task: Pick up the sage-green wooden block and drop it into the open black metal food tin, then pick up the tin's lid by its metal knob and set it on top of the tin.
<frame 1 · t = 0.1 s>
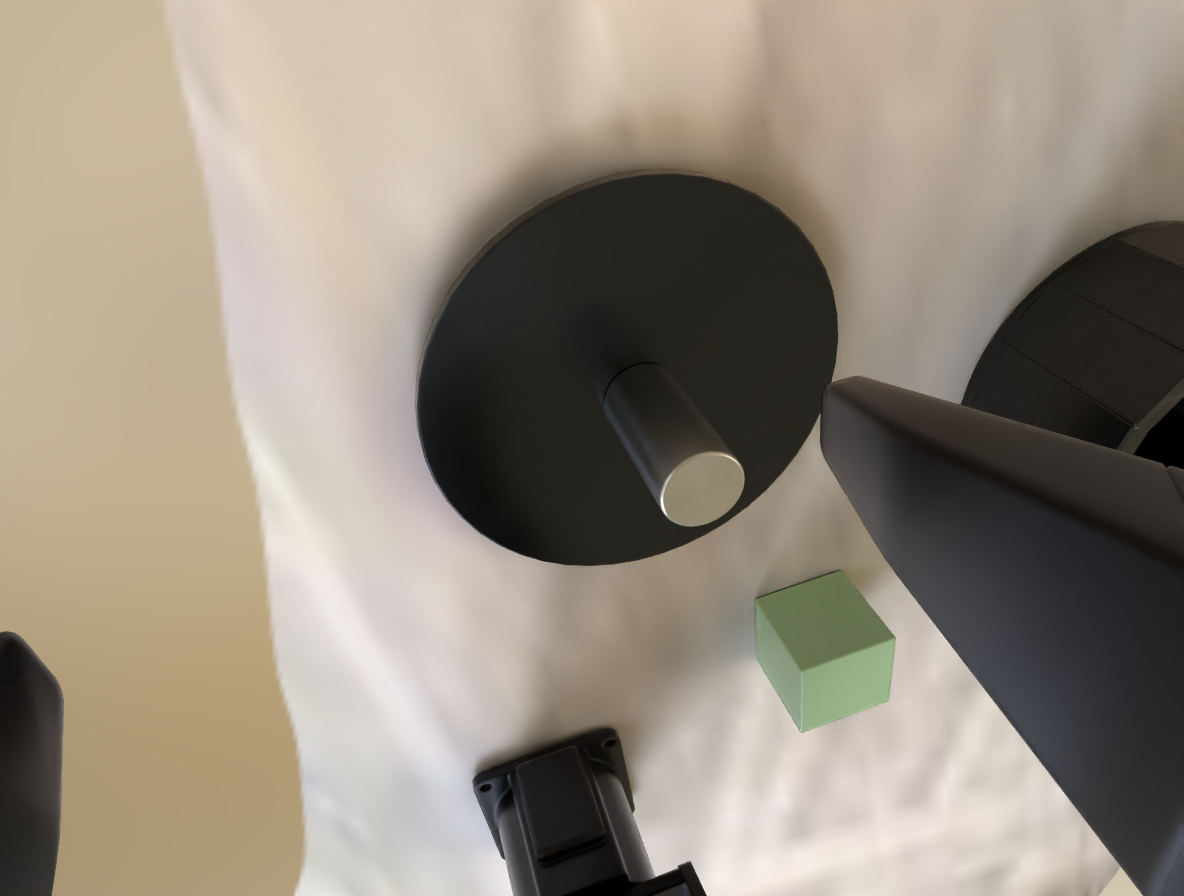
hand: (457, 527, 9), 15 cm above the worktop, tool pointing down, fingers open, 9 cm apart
block: (798, 615, 36), on the worktop
tin: (1097, 377, 33), on the worktop
tin lid: (634, 389, 26), point 1 cm above the worktop
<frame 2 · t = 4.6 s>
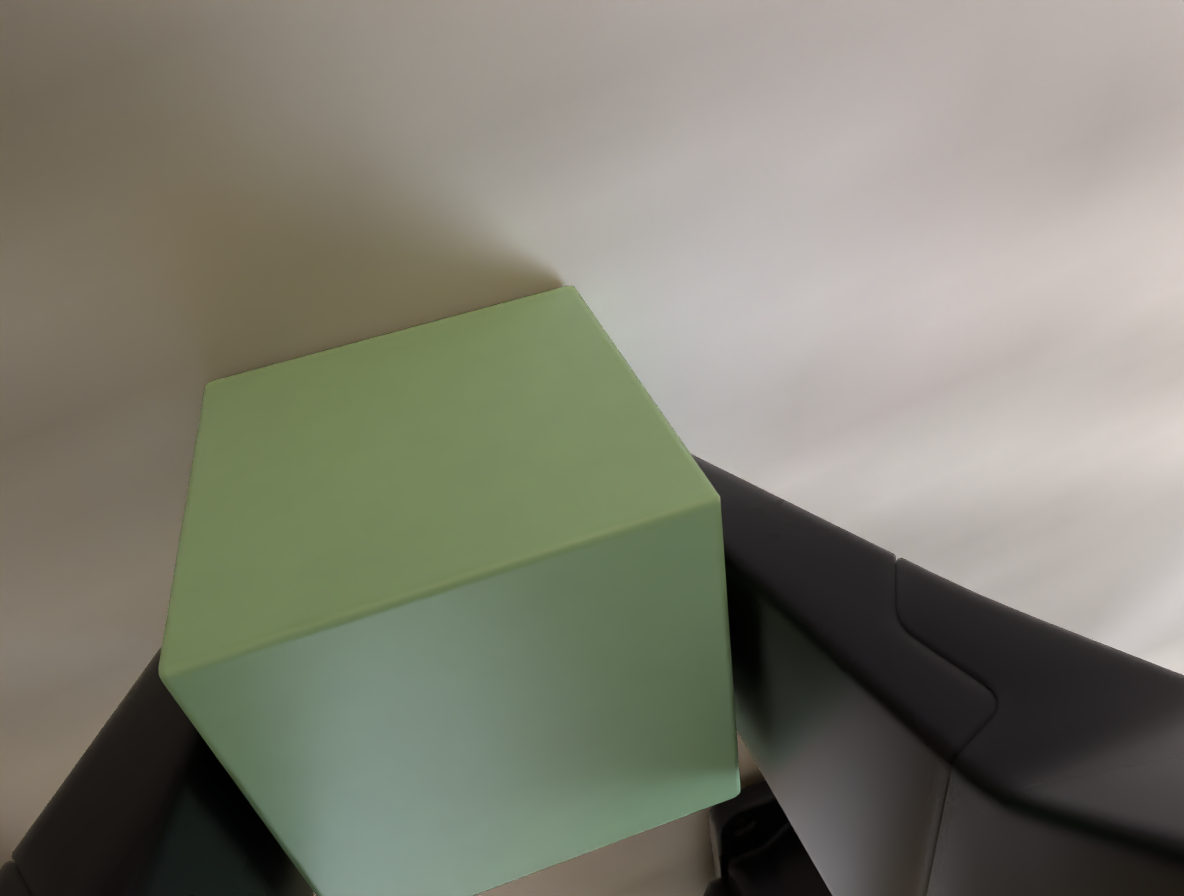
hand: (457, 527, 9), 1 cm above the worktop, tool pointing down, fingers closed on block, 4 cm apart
block: (441, 474, 10), on the worktop, touching gripper
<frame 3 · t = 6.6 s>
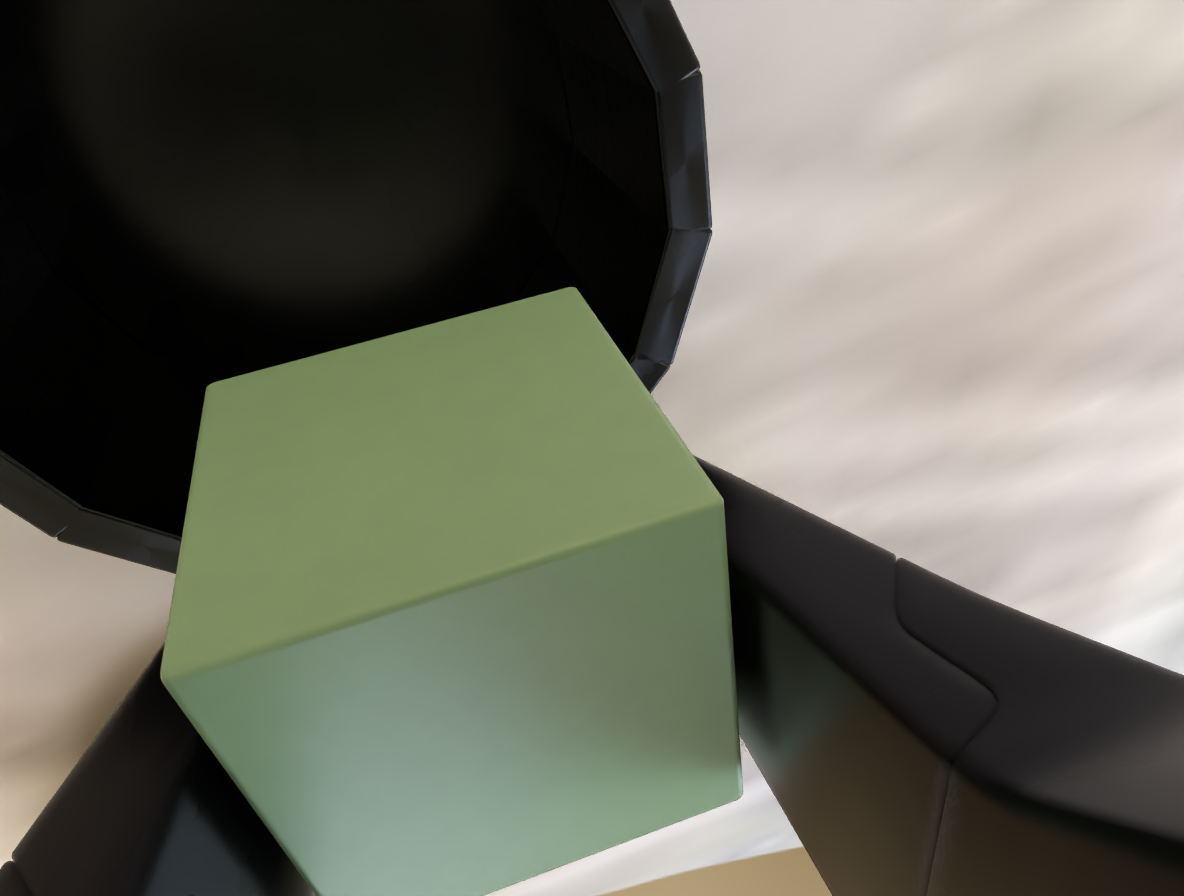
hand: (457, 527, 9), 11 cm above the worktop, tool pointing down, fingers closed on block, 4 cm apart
block: (443, 476, 10), point 10 cm above the worktop, touching gripper
tin: (306, 147, 17), on the worktop
when the fingers open (5 cm above the worktop, at t = 8.8 s): block drops 4 cm, resting on tin.
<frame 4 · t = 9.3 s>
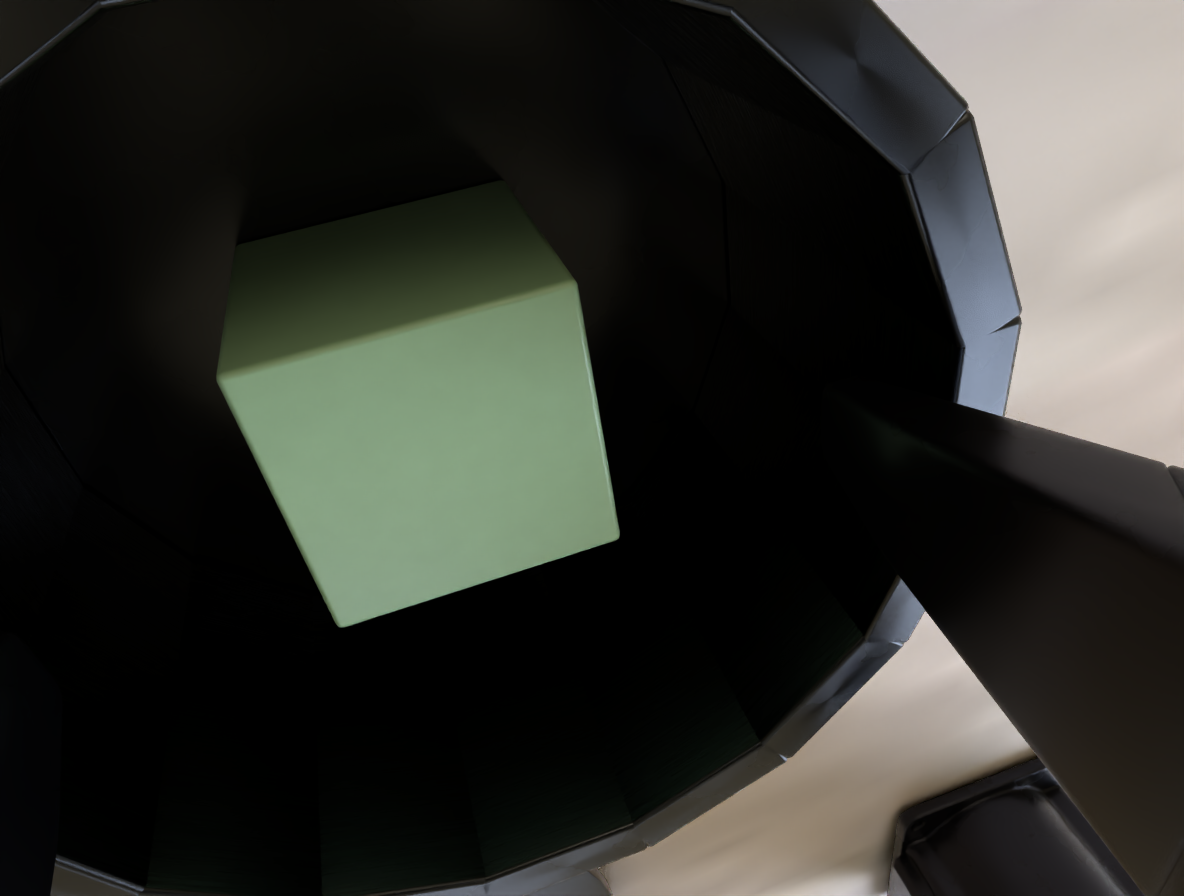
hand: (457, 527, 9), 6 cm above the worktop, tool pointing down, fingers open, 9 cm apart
block: (409, 330, 13), resting on tin
tin: (404, 320, 14), on the worktop
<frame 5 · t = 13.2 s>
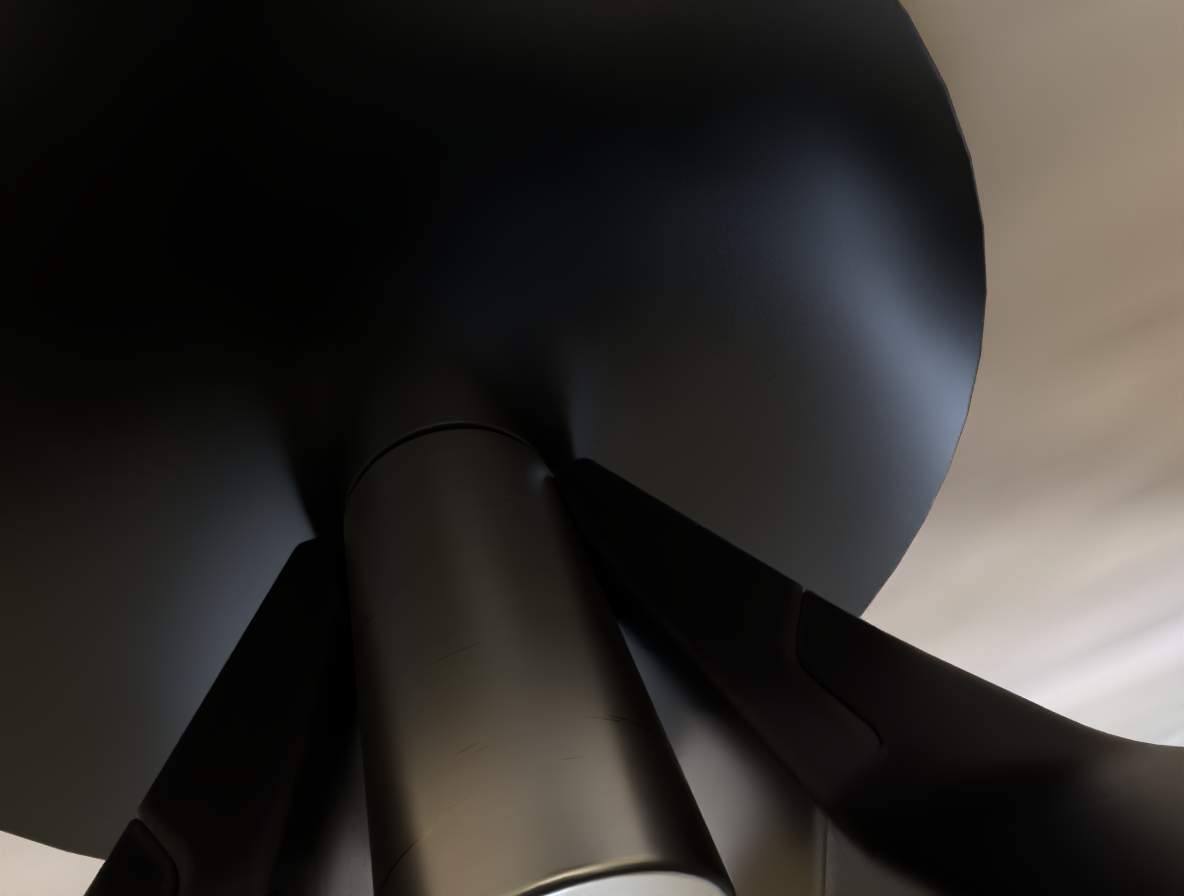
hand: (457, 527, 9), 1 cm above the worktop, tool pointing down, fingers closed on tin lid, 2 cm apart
tin lid: (447, 490, 10), point 1 cm above the worktop, touching gripper
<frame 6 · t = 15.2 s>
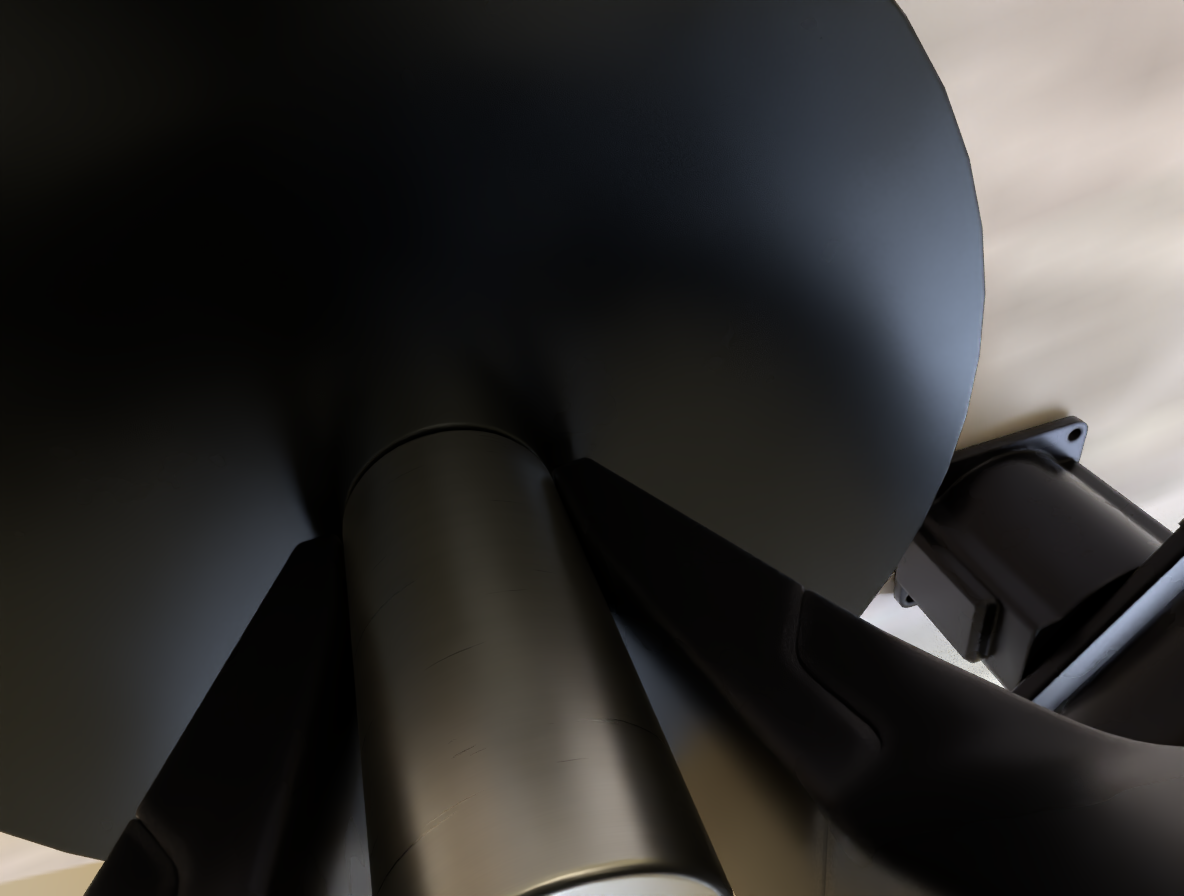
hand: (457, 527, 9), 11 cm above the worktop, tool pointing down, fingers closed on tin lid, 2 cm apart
tin lid: (446, 491, 10), point 10 cm above the worktop, touching gripper
when the fingers open (7 cm above the worktop, at t = 17.3 s): tin lid stays where it is, resting on tin.
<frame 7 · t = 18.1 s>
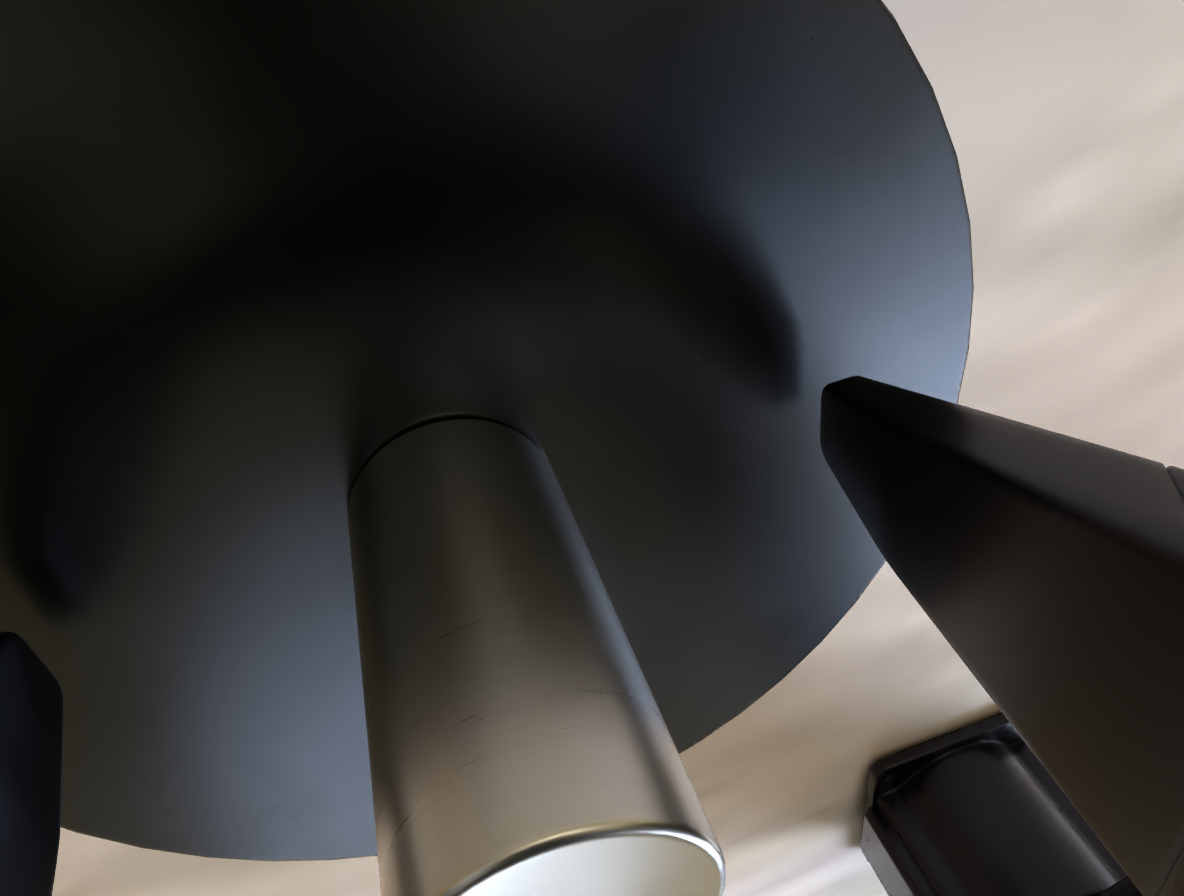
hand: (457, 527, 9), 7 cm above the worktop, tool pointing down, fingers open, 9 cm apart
tin lid: (448, 479, 10), point 6 cm above the worktop, touching tin
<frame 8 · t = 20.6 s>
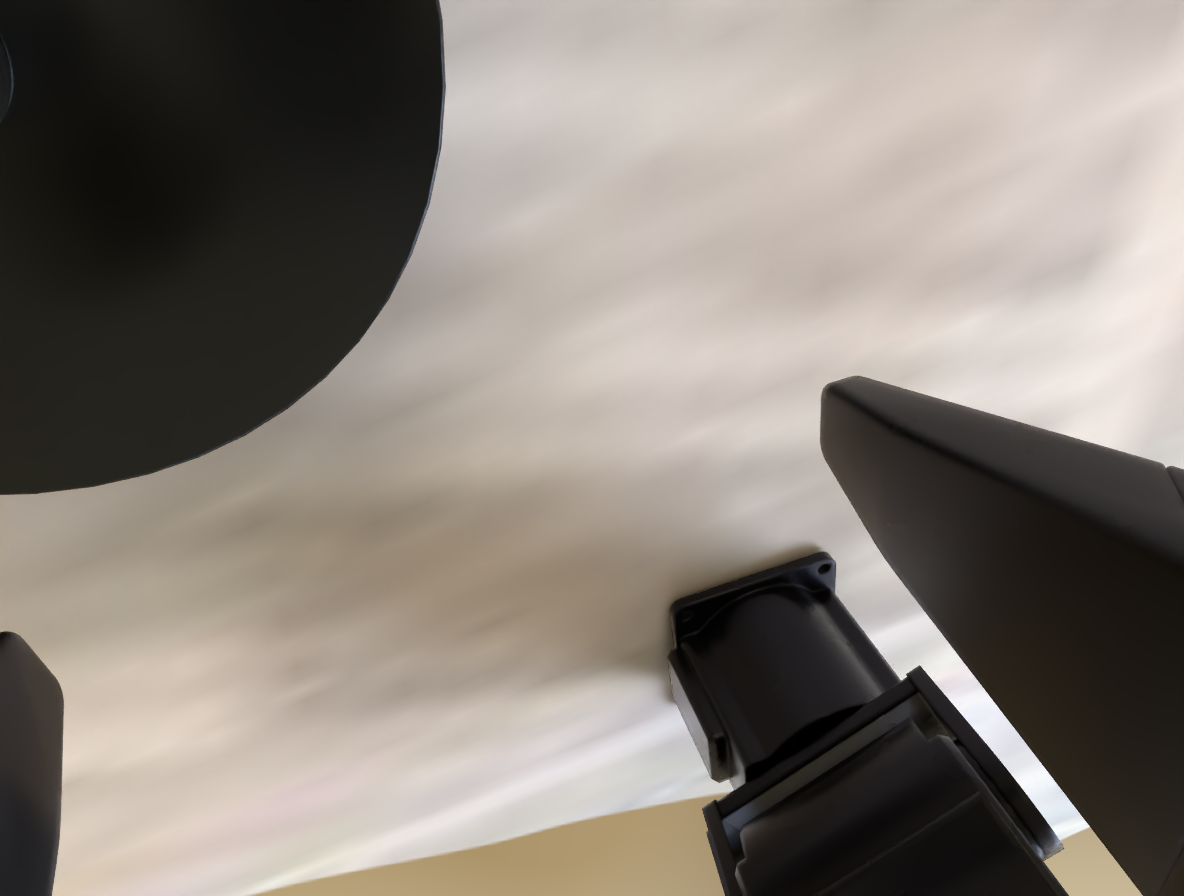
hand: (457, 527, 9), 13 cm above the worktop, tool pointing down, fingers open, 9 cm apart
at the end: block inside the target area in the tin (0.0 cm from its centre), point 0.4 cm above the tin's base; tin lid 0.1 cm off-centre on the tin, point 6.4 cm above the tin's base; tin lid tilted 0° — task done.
